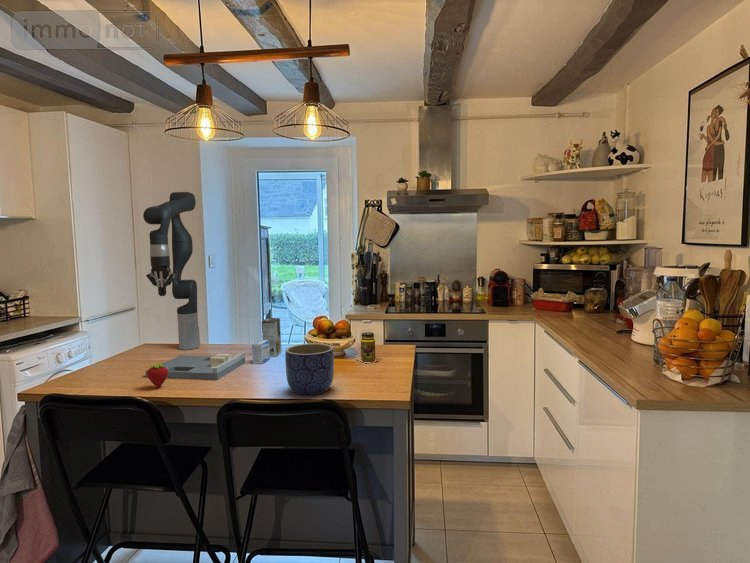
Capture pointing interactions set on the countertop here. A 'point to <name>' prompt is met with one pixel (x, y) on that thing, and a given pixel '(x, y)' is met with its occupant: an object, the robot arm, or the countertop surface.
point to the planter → (309, 367)
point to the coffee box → (272, 335)
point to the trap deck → (201, 367)
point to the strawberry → (157, 374)
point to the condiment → (368, 347)
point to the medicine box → (260, 352)
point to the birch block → (219, 359)
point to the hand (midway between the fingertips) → (162, 295)
